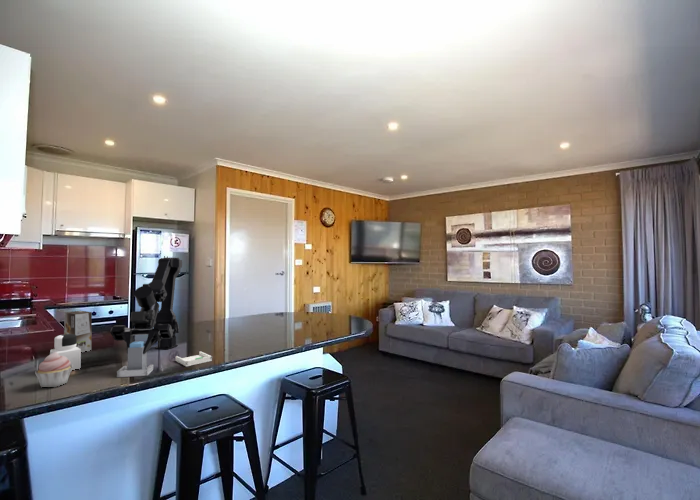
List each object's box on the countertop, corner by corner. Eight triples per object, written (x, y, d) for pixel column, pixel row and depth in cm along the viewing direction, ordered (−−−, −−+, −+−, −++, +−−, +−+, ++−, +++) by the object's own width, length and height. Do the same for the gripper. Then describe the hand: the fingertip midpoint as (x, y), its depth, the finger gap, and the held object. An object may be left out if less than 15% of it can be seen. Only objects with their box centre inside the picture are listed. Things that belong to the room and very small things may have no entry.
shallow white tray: (124, 371, 123) (124, 365, 123) (153, 369, 125) (153, 364, 125) (116, 377, 117) (116, 371, 117) (147, 375, 119) (147, 369, 119)
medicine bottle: (74, 365, 130) (75, 331, 130) (80, 369, 125) (81, 334, 125) (49, 370, 124) (50, 335, 124) (54, 374, 120) (55, 338, 120)
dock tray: (175, 360, 136) (175, 355, 136) (200, 355, 143) (200, 350, 143) (186, 366, 129) (186, 360, 129) (211, 360, 136) (212, 355, 136)
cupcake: (81, 379, 115) (81, 348, 115) (55, 390, 106) (56, 356, 106) (53, 379, 115) (53, 347, 115) (25, 390, 106) (25, 356, 106)
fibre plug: (132, 370, 124) (133, 341, 124) (146, 369, 125) (147, 340, 125) (127, 374, 120) (127, 344, 120) (142, 373, 121) (142, 343, 121)
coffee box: (92, 350, 149) (92, 311, 150) (74, 354, 144) (75, 314, 144) (80, 347, 154) (80, 310, 154) (62, 351, 148) (63, 312, 148)
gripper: (112, 302, 125) (96, 342, 114) (171, 301, 129) (160, 339, 118) (122, 321, 132) (107, 359, 121) (176, 319, 136) (167, 357, 125)
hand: (135, 353), depth 121 cm, fingers closed on fibre plug, 4 cm apart
